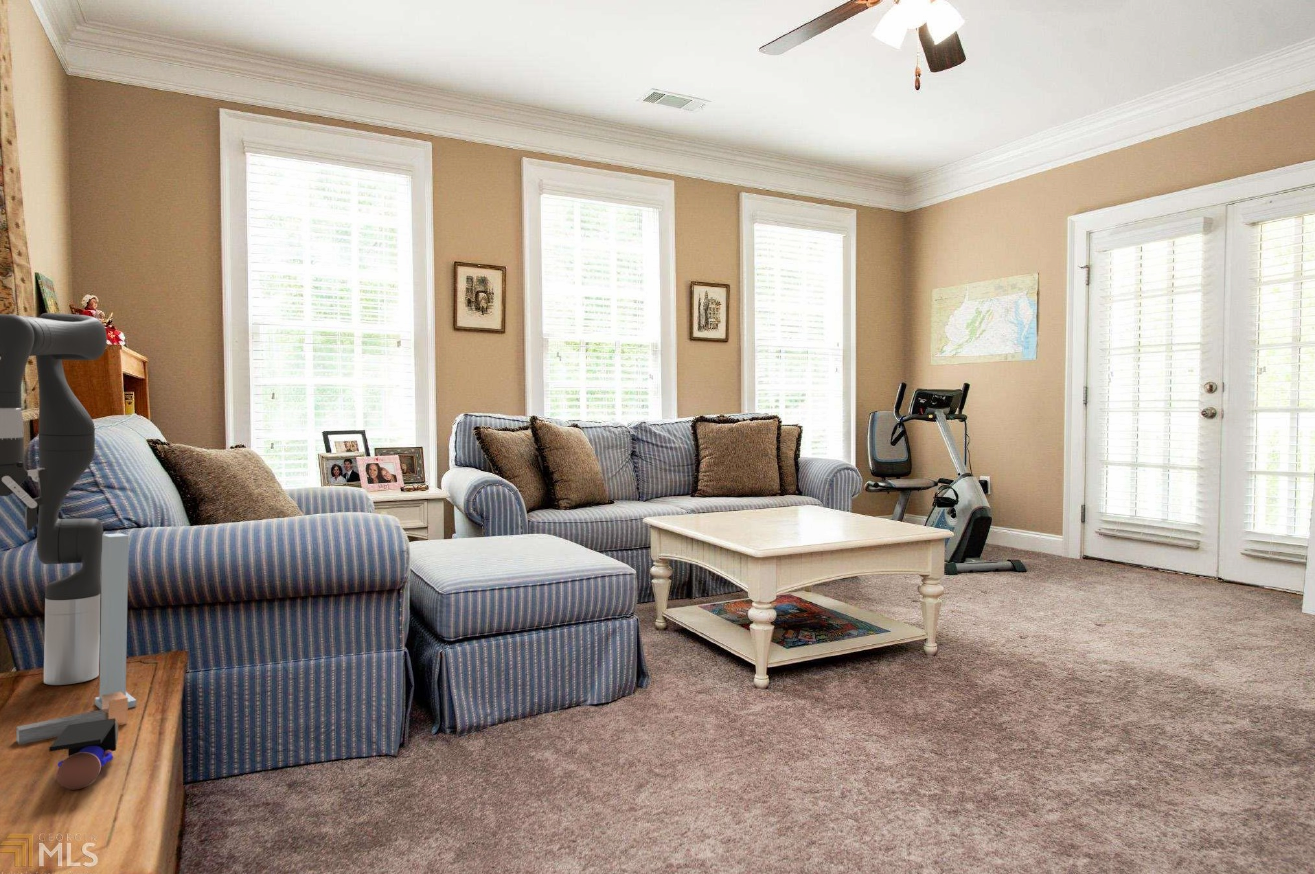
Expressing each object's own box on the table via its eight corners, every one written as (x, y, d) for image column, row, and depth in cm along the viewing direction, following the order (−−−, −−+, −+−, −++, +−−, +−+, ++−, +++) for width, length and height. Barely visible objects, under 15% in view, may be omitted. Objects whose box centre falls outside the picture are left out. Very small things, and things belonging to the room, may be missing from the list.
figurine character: (67, 769, 123) (44, 798, 109) (70, 718, 123) (47, 740, 110) (120, 762, 126) (103, 789, 112) (122, 712, 127) (105, 733, 113)
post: (94, 704, 148) (97, 534, 148) (125, 697, 152) (128, 532, 152) (104, 713, 143) (107, 537, 144) (136, 706, 147) (139, 535, 147)
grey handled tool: (15, 739, 131) (15, 711, 131) (120, 717, 141) (120, 691, 142) (20, 746, 128) (20, 718, 128) (127, 723, 138) (127, 697, 138)
